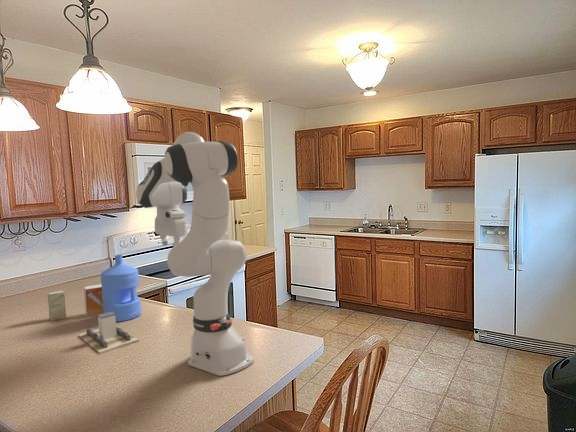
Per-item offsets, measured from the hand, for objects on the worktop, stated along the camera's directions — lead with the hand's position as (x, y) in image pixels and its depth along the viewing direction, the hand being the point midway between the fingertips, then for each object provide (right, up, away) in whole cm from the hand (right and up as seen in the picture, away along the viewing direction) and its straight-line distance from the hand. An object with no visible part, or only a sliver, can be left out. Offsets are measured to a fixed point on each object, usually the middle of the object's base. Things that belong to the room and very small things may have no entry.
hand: (170, 246), depth 158 cm
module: (-21, -34, -10) cm, 41 cm away
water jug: (-26, -33, +15) cm, 45 cm away
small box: (-41, -33, +20) cm, 56 cm away
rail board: (-21, -35, -10) cm, 42 cm away
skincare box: (-56, -34, +16) cm, 67 cm away
